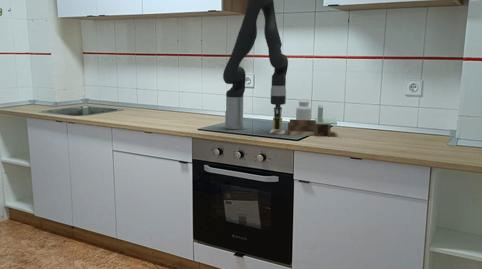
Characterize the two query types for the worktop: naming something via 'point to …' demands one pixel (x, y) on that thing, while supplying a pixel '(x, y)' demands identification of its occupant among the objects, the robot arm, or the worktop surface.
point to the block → (279, 123)
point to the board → (304, 128)
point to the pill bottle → (303, 111)
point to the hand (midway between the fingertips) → (277, 128)
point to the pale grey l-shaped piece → (324, 121)
